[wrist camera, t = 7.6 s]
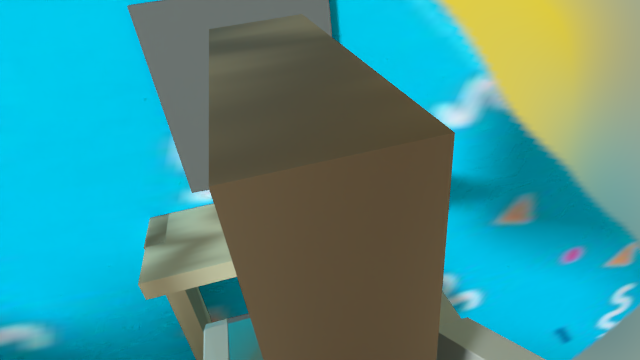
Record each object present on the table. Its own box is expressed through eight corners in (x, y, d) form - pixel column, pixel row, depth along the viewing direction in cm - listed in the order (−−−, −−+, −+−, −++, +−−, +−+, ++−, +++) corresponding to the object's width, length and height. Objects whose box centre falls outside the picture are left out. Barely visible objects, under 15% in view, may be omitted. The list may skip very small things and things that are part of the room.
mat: (192, 189, 25) (191, 192, 25) (128, 5, 19) (127, 6, 19) (341, 156, 27) (343, 159, 26) (324, -25, 21) (326, -24, 21)
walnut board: (288, 347, 16) (336, 591, 10) (209, 29, 9) (209, 186, 3) (342, 332, 16) (420, 560, 10) (302, 14, 9) (454, 133, 4)
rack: (232, 407, 38) (235, 477, 33) (150, 217, 26) (136, 284, 21) (398, 356, 40) (425, 414, 36) (396, 161, 28) (437, 209, 23)
